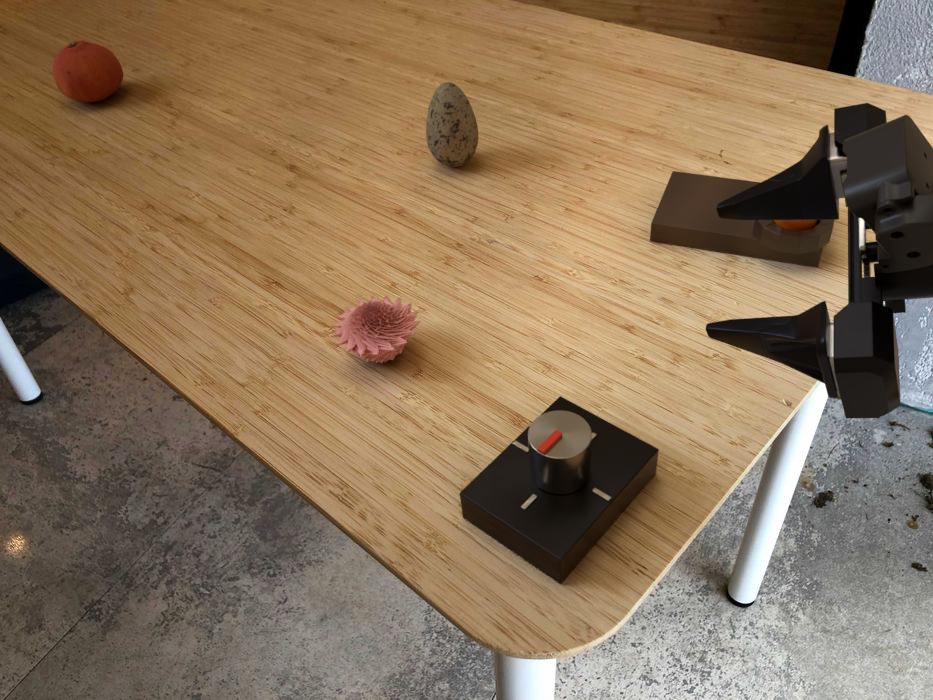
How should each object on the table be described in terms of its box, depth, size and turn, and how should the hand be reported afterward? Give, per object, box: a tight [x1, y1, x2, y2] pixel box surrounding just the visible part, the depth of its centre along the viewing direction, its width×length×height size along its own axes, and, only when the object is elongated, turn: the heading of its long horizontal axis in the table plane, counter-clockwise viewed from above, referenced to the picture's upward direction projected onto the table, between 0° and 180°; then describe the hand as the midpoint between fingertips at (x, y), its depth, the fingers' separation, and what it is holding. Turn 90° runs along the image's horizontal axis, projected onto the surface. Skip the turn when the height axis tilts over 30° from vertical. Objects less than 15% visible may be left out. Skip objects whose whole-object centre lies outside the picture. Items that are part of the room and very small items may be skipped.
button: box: [773, 220, 817, 231], centre depth 79 cm, size 4×4×2 cm
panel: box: [459, 396, 660, 585], centre depth 62 cm, size 12×9×3 cm
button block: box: [649, 170, 835, 268], centre depth 84 cm, size 16×12×4 cm
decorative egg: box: [425, 81, 479, 168], centre depth 96 cm, size 6×6×10 cm
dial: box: [528, 411, 592, 495], centre depth 60 cm, size 4×4×4 cm
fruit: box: [51, 39, 124, 103], centre depth 118 cm, size 9×9×8 cm
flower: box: [328, 294, 421, 364], centre depth 75 cm, size 8×8×6 cm
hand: (712, 268), depth 53 cm, fingers open, 9 cm apart
